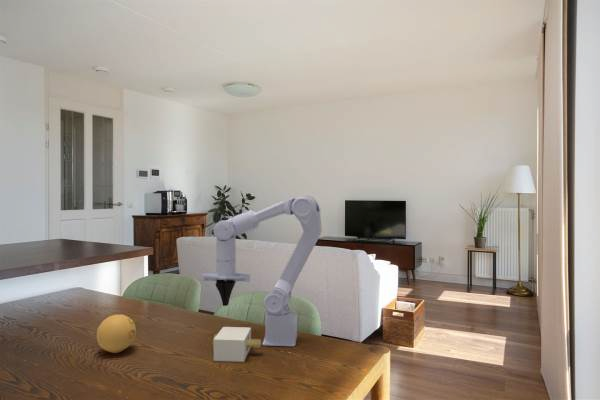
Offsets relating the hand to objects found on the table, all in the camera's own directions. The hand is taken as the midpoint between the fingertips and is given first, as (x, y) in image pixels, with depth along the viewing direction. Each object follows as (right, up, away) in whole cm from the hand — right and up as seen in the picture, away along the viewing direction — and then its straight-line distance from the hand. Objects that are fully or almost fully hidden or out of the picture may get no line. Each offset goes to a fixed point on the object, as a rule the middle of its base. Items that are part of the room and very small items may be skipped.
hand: (225, 304), depth 123 cm
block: (+4, -10, -12) cm, 16 cm away
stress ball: (-28, -10, -11) cm, 32 cm away
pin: (+5, -9, -12) cm, 16 cm away
